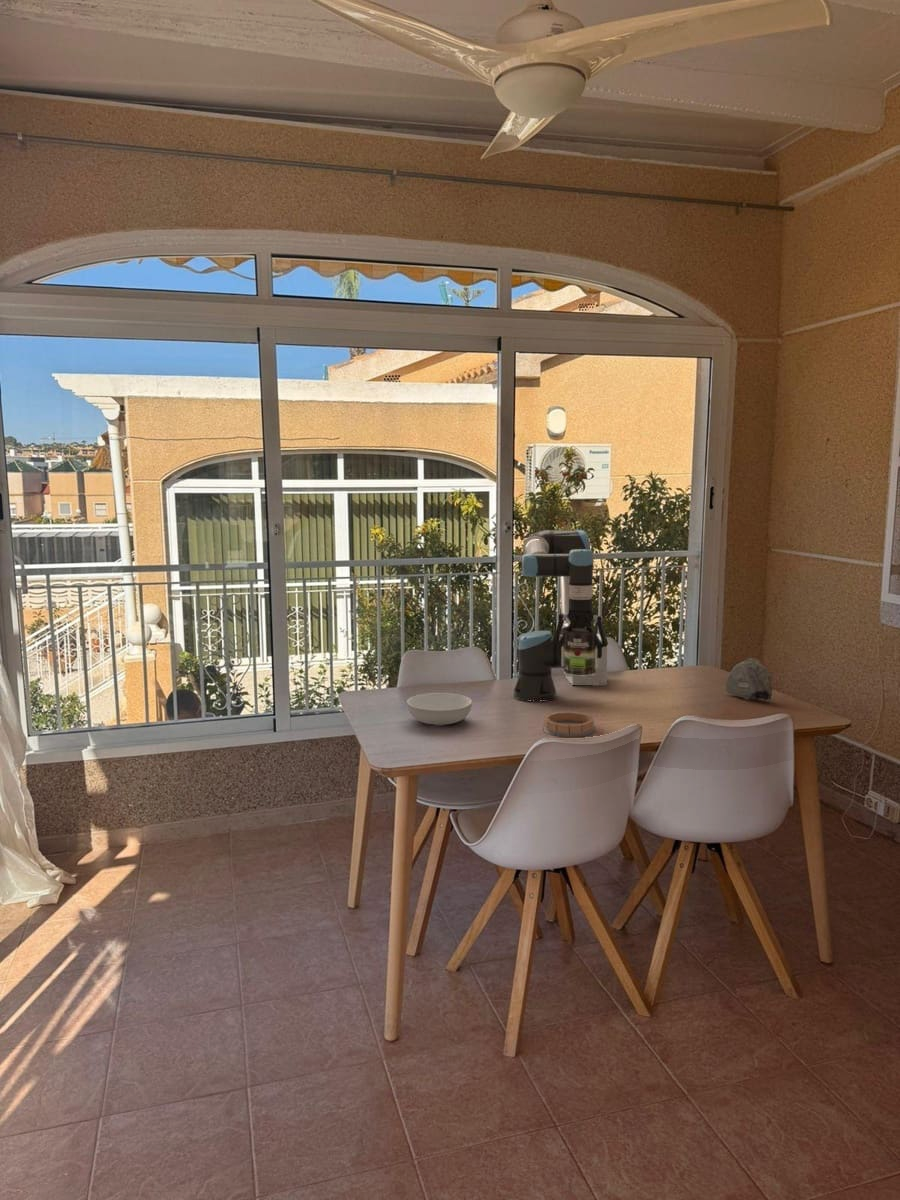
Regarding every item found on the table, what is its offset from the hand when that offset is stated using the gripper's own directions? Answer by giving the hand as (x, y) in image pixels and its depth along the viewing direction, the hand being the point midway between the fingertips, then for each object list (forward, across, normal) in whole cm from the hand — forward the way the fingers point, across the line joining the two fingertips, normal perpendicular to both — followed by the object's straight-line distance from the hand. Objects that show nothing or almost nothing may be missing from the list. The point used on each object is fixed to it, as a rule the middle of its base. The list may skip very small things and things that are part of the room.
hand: (579, 666), depth 261 cm
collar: (+17, 0, -12) cm, 21 cm away
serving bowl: (+18, -42, -18) cm, 49 cm away
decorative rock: (+17, +50, +43) cm, 68 cm away
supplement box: (+17, -9, +50) cm, 53 cm away
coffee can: (+3, 0, 0) cm, 3 cm away
